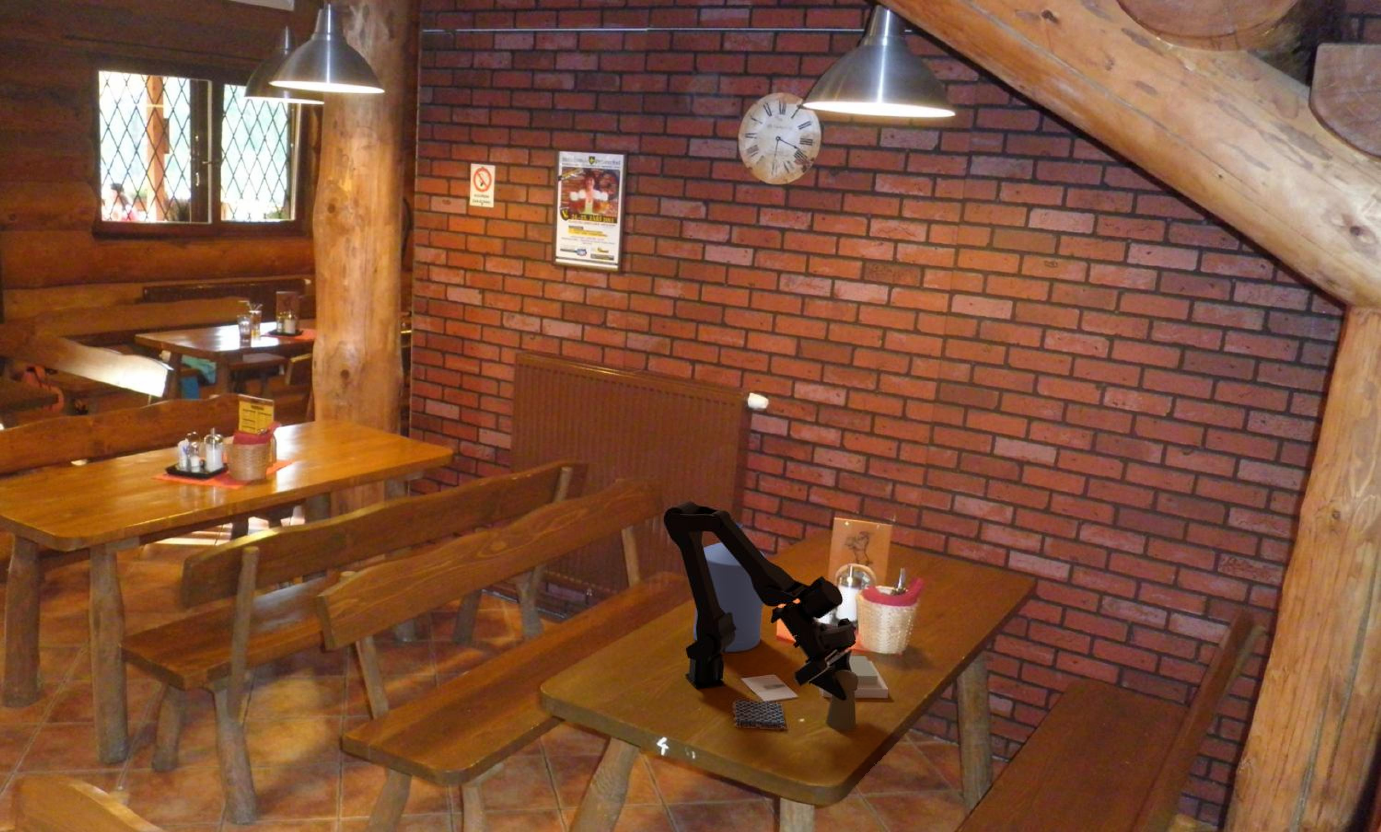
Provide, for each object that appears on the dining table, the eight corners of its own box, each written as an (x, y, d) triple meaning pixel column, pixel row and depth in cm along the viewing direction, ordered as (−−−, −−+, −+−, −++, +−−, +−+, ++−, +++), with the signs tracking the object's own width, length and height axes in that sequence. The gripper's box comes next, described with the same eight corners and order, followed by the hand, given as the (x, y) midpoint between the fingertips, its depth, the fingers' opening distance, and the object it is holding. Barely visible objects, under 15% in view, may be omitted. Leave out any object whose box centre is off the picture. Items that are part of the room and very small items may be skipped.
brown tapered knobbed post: (854, 732, 233) (860, 681, 231) (824, 727, 234) (829, 676, 232) (856, 718, 239) (862, 668, 236) (827, 714, 240) (832, 664, 238)
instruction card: (762, 702, 243) (763, 700, 243) (740, 679, 253) (740, 678, 253) (798, 697, 246) (798, 696, 246) (774, 675, 256) (774, 673, 256)
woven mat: (781, 708, 242) (782, 699, 242) (786, 733, 232) (787, 724, 231) (731, 705, 242) (732, 696, 241) (733, 730, 232) (734, 721, 231)
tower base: (822, 696, 247) (824, 679, 247) (809, 668, 261) (810, 651, 260) (887, 697, 249) (889, 680, 248) (870, 669, 263) (872, 652, 262)
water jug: (772, 648, 270) (782, 532, 264) (711, 657, 263) (720, 538, 257) (740, 623, 284) (749, 512, 278) (681, 630, 277) (689, 517, 271)
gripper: (814, 624, 225) (862, 693, 222) (851, 596, 241) (896, 660, 238) (774, 651, 231) (820, 719, 228) (812, 622, 247) (856, 685, 244)
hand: (850, 694), depth 234 cm, fingers closed on brown tapered knobbed post, 5 cm apart
